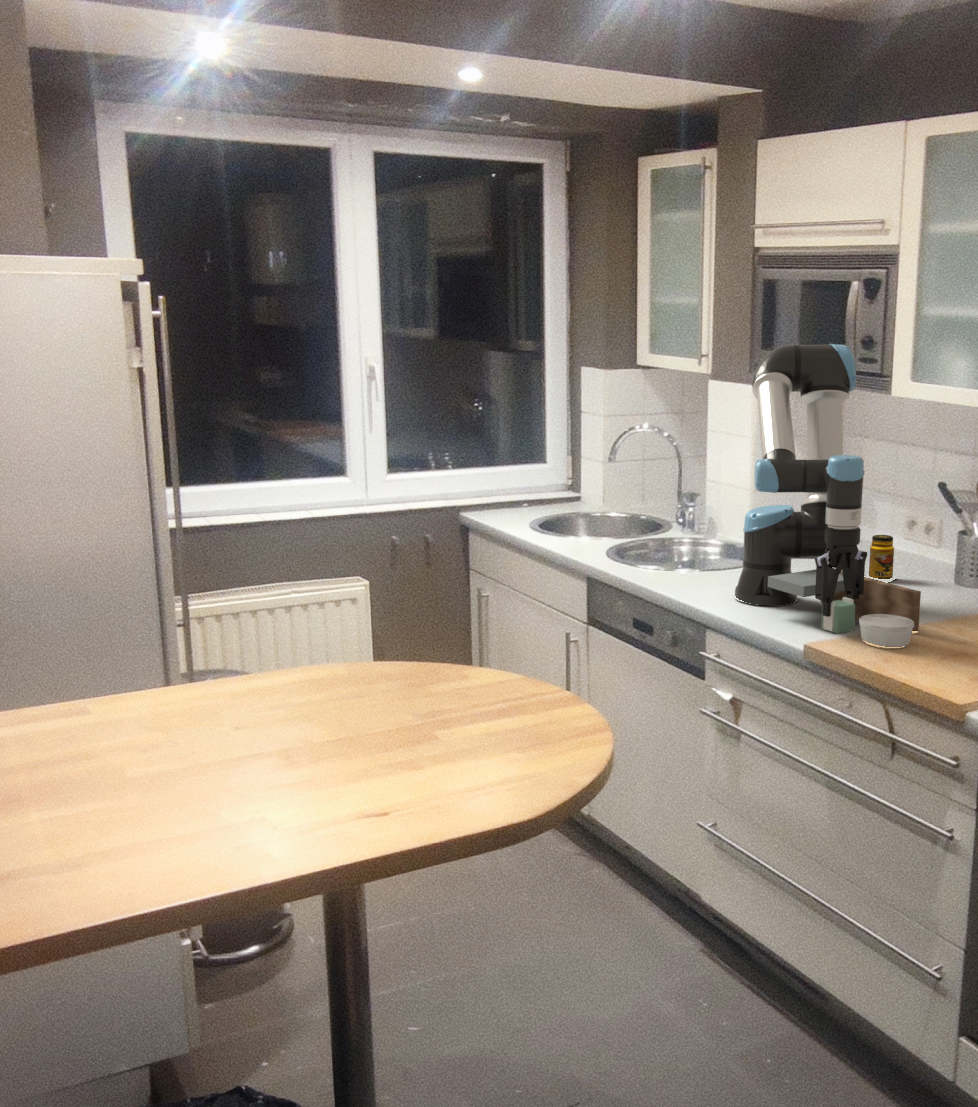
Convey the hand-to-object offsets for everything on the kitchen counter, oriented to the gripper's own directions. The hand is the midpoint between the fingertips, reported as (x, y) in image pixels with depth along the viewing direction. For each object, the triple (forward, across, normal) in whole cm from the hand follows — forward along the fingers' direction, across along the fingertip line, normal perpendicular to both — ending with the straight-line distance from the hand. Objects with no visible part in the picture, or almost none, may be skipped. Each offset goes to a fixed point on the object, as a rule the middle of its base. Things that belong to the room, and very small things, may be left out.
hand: (837, 627), depth 249 cm
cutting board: (0, +12, +3) cm, 12 cm away
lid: (-6, +3, +12) cm, 13 cm away
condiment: (+1, +45, +32) cm, 55 cm away
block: (0, 0, 0) cm, 0 cm away
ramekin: (+1, +1, -13) cm, 13 cm away
